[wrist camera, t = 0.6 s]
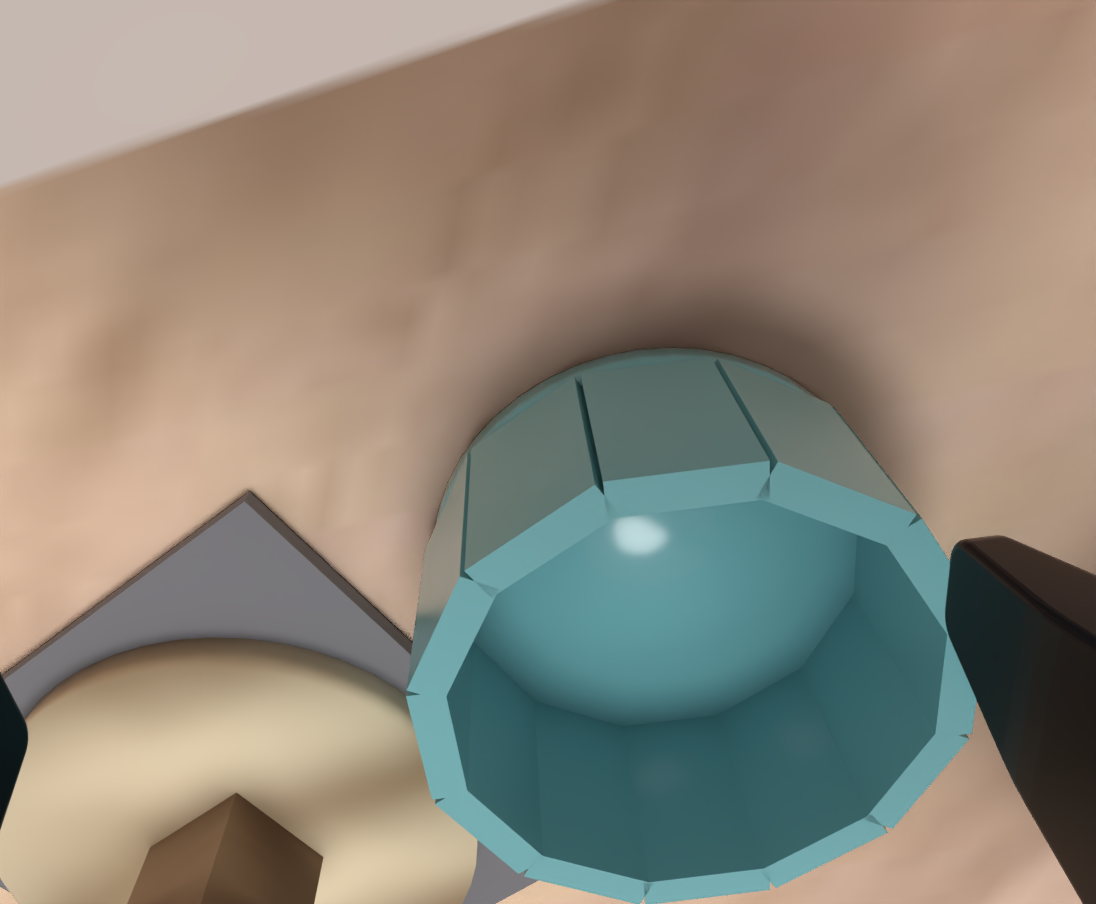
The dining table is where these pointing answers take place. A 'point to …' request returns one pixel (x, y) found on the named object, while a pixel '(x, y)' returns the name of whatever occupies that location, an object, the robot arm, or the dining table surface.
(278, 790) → the lid
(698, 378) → the bowl
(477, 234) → the dining table surface
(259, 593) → the mat
